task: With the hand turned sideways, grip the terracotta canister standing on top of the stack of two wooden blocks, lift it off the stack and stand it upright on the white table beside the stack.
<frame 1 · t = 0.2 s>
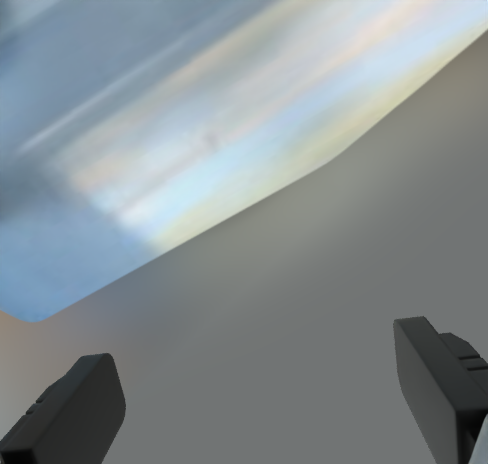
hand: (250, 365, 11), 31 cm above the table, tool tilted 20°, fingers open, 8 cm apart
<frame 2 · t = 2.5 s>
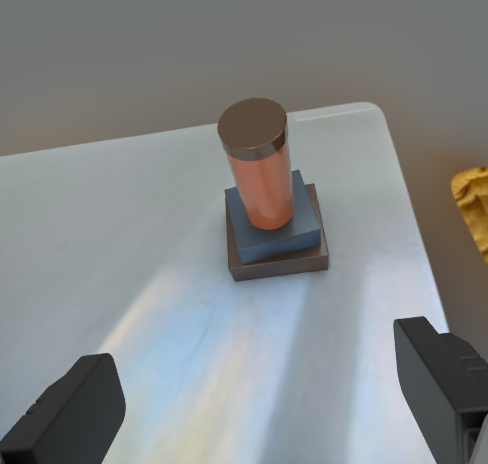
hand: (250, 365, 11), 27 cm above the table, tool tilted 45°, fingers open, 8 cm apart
terracotta canister: (269, 208, 38), point 6 cm above the table, touching block stack
block stack: (276, 239, 44), on the table
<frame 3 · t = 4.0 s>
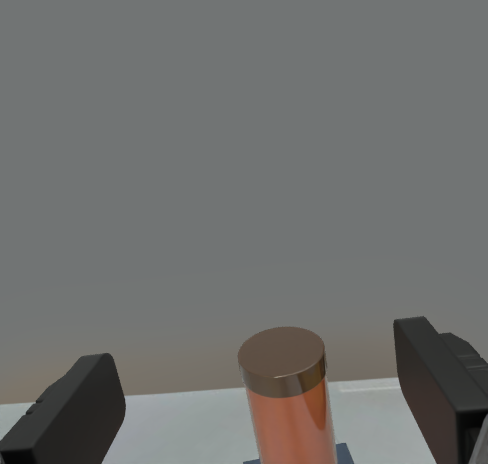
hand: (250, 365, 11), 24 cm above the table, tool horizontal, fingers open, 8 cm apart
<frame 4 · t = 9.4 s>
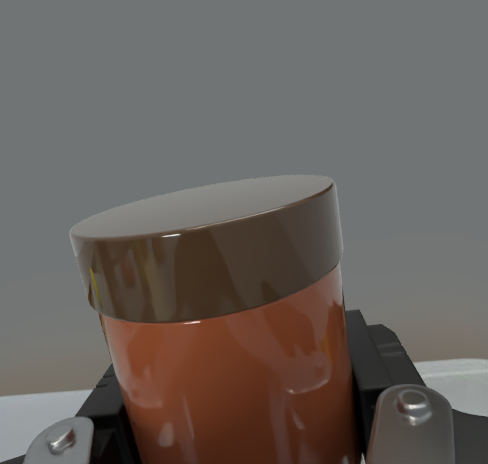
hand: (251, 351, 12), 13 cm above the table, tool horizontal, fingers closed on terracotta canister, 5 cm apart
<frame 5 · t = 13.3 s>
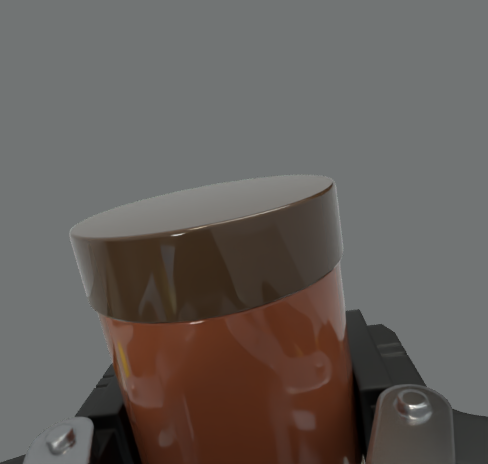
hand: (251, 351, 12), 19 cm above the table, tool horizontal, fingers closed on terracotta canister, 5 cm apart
when the fingers open (6 cm above the table, at t = 17.3 s): terracotta canister stays where it is, on the table.
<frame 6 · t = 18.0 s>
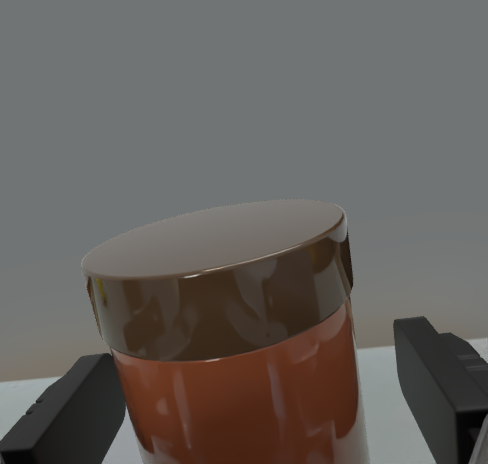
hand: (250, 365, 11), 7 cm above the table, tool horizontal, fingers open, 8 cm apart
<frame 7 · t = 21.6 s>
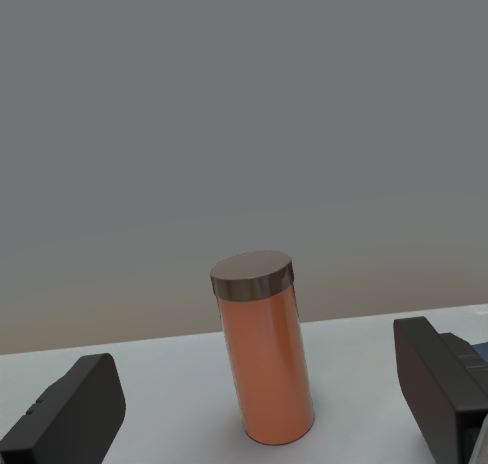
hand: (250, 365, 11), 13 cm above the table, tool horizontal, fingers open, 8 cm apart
terracotta canister: (278, 417, 27), on the table
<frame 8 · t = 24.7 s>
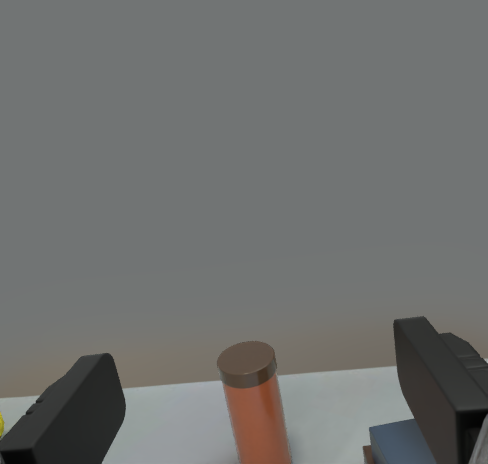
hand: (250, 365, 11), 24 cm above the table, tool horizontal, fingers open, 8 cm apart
terracotta canister: (265, 461, 37), on the table
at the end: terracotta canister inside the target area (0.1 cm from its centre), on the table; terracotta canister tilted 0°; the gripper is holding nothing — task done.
